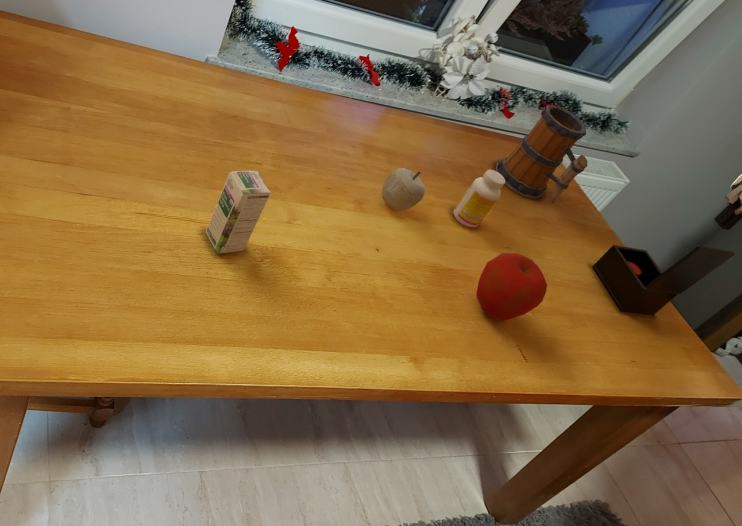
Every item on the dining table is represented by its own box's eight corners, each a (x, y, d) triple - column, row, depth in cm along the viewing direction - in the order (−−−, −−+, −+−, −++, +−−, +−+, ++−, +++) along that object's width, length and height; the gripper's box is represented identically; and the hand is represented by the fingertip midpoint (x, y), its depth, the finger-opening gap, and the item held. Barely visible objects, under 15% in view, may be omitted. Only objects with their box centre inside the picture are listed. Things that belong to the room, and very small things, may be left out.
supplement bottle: (481, 231, 156) (513, 189, 147) (456, 225, 154) (488, 183, 145) (473, 211, 160) (504, 170, 152) (449, 205, 158) (478, 163, 150)
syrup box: (203, 231, 122) (227, 170, 113) (232, 228, 126) (258, 169, 116) (216, 254, 119) (242, 194, 110) (245, 251, 123) (272, 192, 113)
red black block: (627, 283, 162) (642, 269, 159) (625, 291, 159) (640, 277, 156) (613, 273, 163) (627, 259, 159) (610, 281, 160) (624, 266, 156)
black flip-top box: (591, 266, 163) (613, 244, 158) (623, 271, 167) (646, 250, 162) (620, 311, 154) (644, 289, 149) (653, 315, 158) (678, 294, 153)
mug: (565, 211, 177) (617, 151, 164) (529, 213, 169) (580, 151, 156) (520, 161, 187) (566, 102, 174) (484, 161, 180) (529, 99, 167)
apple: (451, 299, 135) (491, 251, 125) (479, 279, 143) (518, 232, 134) (500, 344, 131) (544, 297, 121) (525, 320, 139) (569, 274, 130)
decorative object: (368, 200, 148) (389, 165, 141) (386, 186, 154) (406, 152, 148) (401, 225, 146) (424, 190, 139) (417, 209, 152) (439, 176, 146)
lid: (698, 245, 138) (700, 248, 138) (733, 251, 142) (735, 254, 142) (644, 286, 149) (646, 289, 148) (678, 291, 153) (680, 294, 152)
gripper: (782, 161, 123) (706, 232, 135) (834, 175, 128) (756, 242, 140) (756, 135, 128) (684, 207, 140) (807, 150, 133) (734, 217, 145)
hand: (721, 224), depth 140 cm, fingers closed
